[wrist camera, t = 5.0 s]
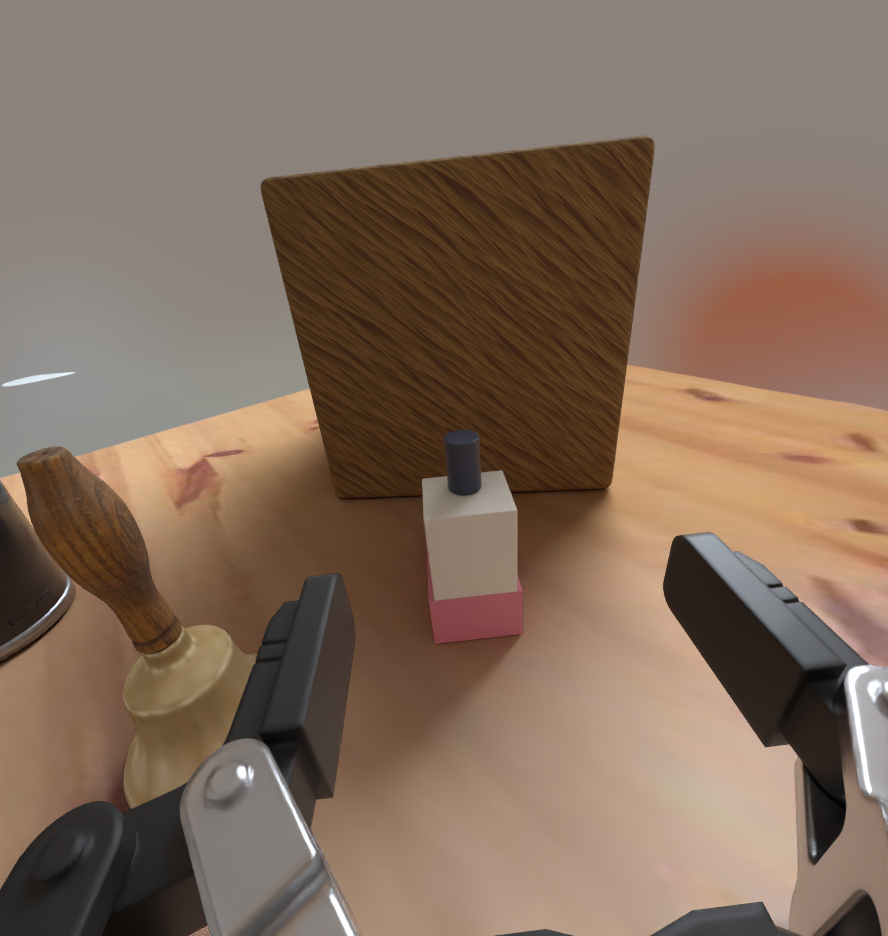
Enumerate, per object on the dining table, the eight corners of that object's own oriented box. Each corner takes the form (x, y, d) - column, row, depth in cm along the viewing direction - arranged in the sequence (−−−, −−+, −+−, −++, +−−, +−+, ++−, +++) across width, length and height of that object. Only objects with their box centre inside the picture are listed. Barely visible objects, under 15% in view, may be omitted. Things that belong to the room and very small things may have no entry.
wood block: (561, 393, 59) (573, 175, 47) (613, 491, 37) (660, 131, 25) (384, 403, 61) (351, 199, 49) (335, 501, 39) (253, 177, 27)
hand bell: (161, 884, 16) (-159, 581, 9) (103, 744, 21) (-135, 471, 14) (335, 715, 22) (233, 431, 14) (256, 634, 27) (147, 391, 19)
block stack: (522, 634, 25) (524, 454, 19) (434, 644, 25) (409, 467, 19) (494, 533, 33) (490, 387, 28) (428, 540, 33) (410, 395, 27)
